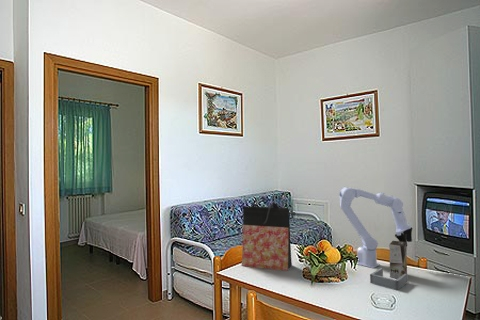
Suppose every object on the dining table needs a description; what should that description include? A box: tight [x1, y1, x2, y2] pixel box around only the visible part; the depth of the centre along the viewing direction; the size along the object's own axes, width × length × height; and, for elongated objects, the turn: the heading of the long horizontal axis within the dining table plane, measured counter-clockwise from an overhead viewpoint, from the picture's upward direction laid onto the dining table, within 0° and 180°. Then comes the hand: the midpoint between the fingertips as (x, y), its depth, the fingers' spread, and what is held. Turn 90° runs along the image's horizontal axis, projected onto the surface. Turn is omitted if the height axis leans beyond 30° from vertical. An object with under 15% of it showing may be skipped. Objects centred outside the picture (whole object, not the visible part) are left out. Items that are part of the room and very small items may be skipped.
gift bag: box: [241, 202, 296, 272], centre depth 168 cm, size 29×14×35 cm, turn 69°
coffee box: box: [389, 240, 408, 279], centre depth 151 cm, size 9×6×16 cm
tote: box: [369, 267, 408, 291], centre depth 142 cm, size 12×12×4 cm
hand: (407, 244), depth 165 cm, fingers open, 7 cm apart
